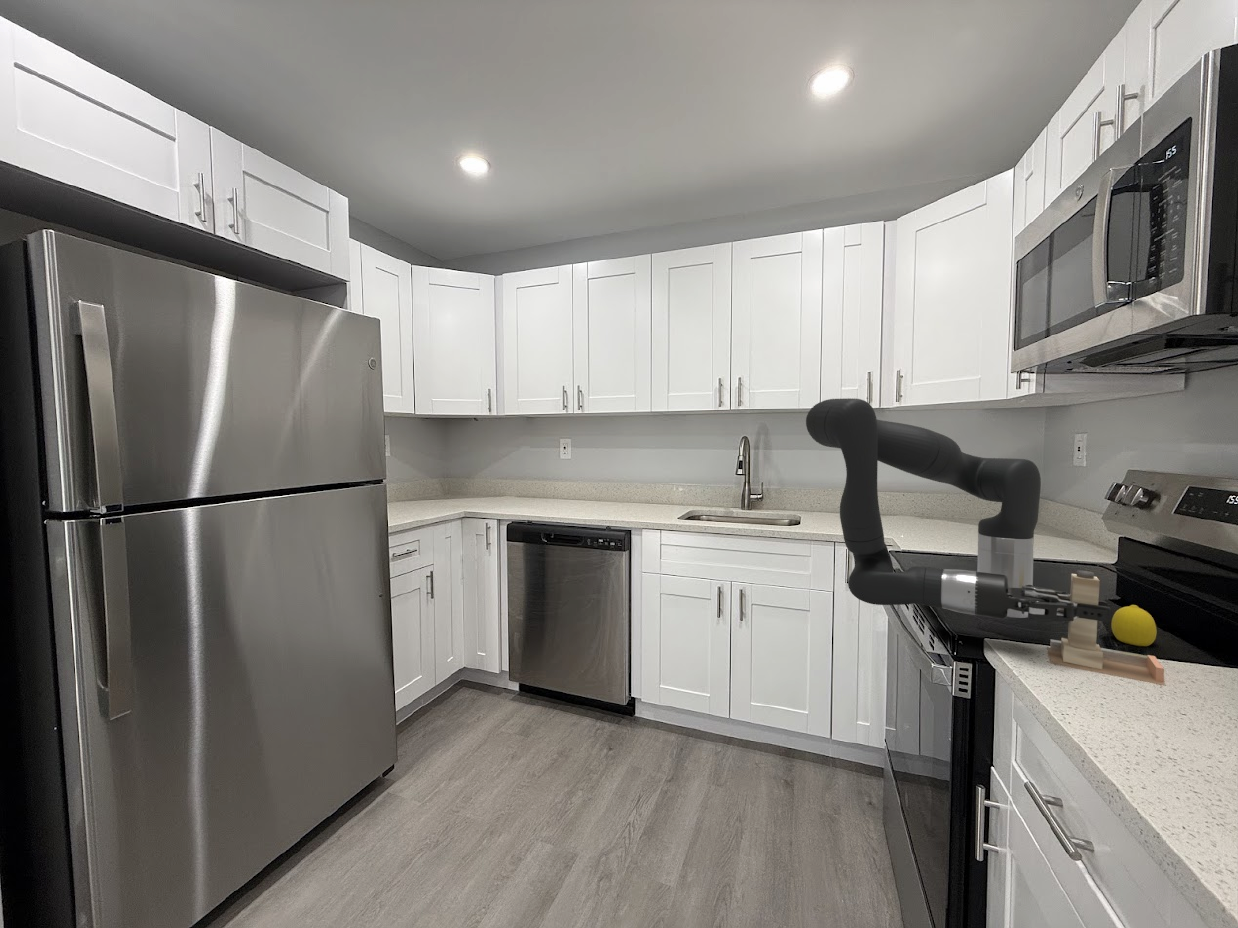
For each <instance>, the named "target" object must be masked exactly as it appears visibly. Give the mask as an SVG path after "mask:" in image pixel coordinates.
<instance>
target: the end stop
mask: <svg viewBox="0 0 1238 928" xmlns="http://www.w3.org/2000/svg"><path fill="white" fill-rule="evenodd" d="M1146 656H1147V668H1148V670H1149V671H1150V673H1151V674H1152V676H1153V677H1154V679H1155V680H1156V681H1160V682H1164V683H1165V668H1164V667H1163V665H1162V664H1161V662H1160V661H1159V660H1158V658H1157V657H1156V656H1155V655H1150V654H1147V655H1146Z"/></svg>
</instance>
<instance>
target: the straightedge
mask: <svg viewBox="0 0 1238 928" xmlns="http://www.w3.org/2000/svg"><path fill="white" fill-rule="evenodd" d="M1049 646H1050V647H1049V648H1051V650H1052V651H1058V652H1061V640H1058V639H1052V638H1051V639H1050V645H1049ZM1100 648H1101V650H1102V652H1103V660H1108V661H1113V662H1119V663H1124V664H1130V665H1135V666H1141V667H1146V668H1147V655H1145V654H1144V655H1143V654H1139V653H1133V652H1128V651H1122V650H1114V649H1108V648H1103V647H1100Z"/></svg>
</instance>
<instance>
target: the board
mask: <svg viewBox="0 0 1238 928" xmlns="http://www.w3.org/2000/svg"><path fill="white" fill-rule="evenodd" d="M1046 650H1047V655H1048V656H1047V657H1048V659H1049V660H1048V661H1049V663H1050V664H1052V665H1057V666H1062V667H1067V668H1073V669H1077V670H1078V669H1079V670H1083V671H1089V672H1093V673H1098V674H1103V675H1107V676H1114V677H1119V678H1124V679H1130V680H1134V681H1138V682H1139V681H1140V682H1146V683H1150V684H1154V685H1155V684H1156V685H1158V686H1159V685H1160V686H1167V685H1166V684H1165V681H1164V682H1160V681H1156V680H1155V679H1154V677H1153V676H1152V674H1151V673H1150V671H1149V670H1148V668H1146V667H1141V666H1135V665H1130V664H1124V663H1119V662H1113V661H1108V660H1103V665H1102V669H1097V668H1092V667H1087V666H1082V665H1077V664H1073V663H1068V662H1063V659H1062V655H1061V652H1058V651H1052V650H1051V648H1050V647H1048V646H1046Z"/></svg>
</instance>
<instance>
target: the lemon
mask: <svg viewBox="0 0 1238 928" xmlns="http://www.w3.org/2000/svg"><path fill="white" fill-rule="evenodd" d="M1111 631H1112V633H1113V635H1114V637H1115V638H1116V640H1118V642H1122V643H1125V644H1127V645H1131V646H1132V645H1133V646H1138V647H1149V646H1150V645H1152V644H1153V643H1154V641H1155V640H1156V638H1157V624H1156V622H1155V620H1154V617H1152V615H1151V614H1150V613H1149V612H1148V611H1147V610H1144V609H1143V608H1141V607H1139V606H1138V605H1136V604H1130V605H1129V606H1128V605H1127V606H1123V607H1120V608H1119V609H1117V610H1116V611H1114V614H1113V615H1112V620H1111Z"/></svg>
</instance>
